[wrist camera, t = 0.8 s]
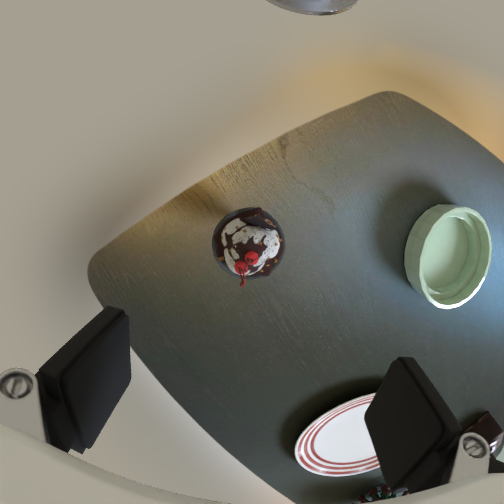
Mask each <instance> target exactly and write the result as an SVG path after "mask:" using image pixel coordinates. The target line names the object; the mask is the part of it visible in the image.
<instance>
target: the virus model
mask: <svg viewBox="0 0 504 504" xmlns="http://www.w3.org/2000/svg"><path fill="white" fill-rule="evenodd" d="M388 488H389V487H387V486H386V485H384V486H381V489H382V492H381V494H380V495H381V497H379V495H378V494H377V488H372V490H370V491H369V495H370V496H371V497H372V501H368V500H367V499H366V498H365V495H363V494H362V495H360V497H359V498H358V500H359V501H361V503H368V502H374V501H380V500H386V499H391V498H396V494H397V493H395V494H392V495H391V496H389V494H390V493H391V490H388ZM408 493H409V492H408V491H407V490H406V491H404V493H403V495H402V496H405V495H408ZM352 504H354V503H352ZM355 504H358V503H355Z"/></svg>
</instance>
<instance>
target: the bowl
mask: <svg viewBox="0 0 504 504" xmlns="http://www.w3.org/2000/svg"><path fill="white" fill-rule="evenodd" d="M491 251H492V244H491V237H490V232H489V229H488V227H487V225H486V222H485V220H484V219H483V218H482V217H481V216H480V214H479V213H478V212H477V211H474V210H472V209H470V208H468V207H464V206H458V205H453V204H438V205H436V206H434V207H432V208H430V209H428V210H426V211H425V212H424V213H423V214H422V215H421V216H420V217H419V218H418V219H417V220H416V222H415V224H414V226H413V228H412V229H411V231H410V233H409V236H408V240H407V243H406V247H405V259H404V266H405V270H406V274H407V278H408V280H409V282H410V284H411V285H412V287H413V288H414V290H415V291H417V292H418V293H419V294H421V295H422V296H423V297H424V298H426V299H427V300H428V301H429V302H431V303H432V304H433V305H435V306H436V307H438V308H444V309H451V308H455V307H459V306H461V305H462V304H464V303H465V302H467V301H468V300H470V299H471V298H472V297H473V295H474V294H475V293H476V292H477V291H478V290H479V288H480V286H481V285H482V283H483V281H484V279H485V277H486V275H487V272H488V268H489V265H490V261H491Z"/></svg>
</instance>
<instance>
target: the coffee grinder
mask: <svg viewBox="0 0 504 504" xmlns="http://www.w3.org/2000/svg"><path fill="white" fill-rule="evenodd" d="M465 433H476V434H478V435H480V436H482V437H483V438H484V439H485V440H486V442H487V443H488V445H489V448H490V457H491V458H493V459H496V458H495V457H494V455H493V453H494V452H495V450H496V448H497V447H498V446H500V445H501V442H502V437H503V430H502V429H501V428H500V426H499V425H498V423H497V422H496V421H495V420H494V418H493V417H492V416H491V415H490V413H489V412H487V413H486V414H484V415H483V416H482V417H481V418H479V419H478V420H477V421H476V422H474V423H473V424H472V425H471V426H470V427H468V428H467V429H466V430H465V431H464V432H462V433H461V434H460V437H461V436H462V435H463V434H465Z"/></svg>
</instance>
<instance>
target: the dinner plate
mask: <svg viewBox="0 0 504 504" xmlns="http://www.w3.org/2000/svg"><path fill="white" fill-rule="evenodd" d="M375 394H376V393H372V394H368V395H364V396H361V397H358V398H355V399H352V400H350V401H347V402H345V403H343V404H341V405H339V406H337V407H335V408H333V409H331V410H329V411H327V412H326V413H324V414H323V415H321V416H320V417H318V418H317V419H316V420H314V421H313V422H312V423H311V424H310V425H309V426H308V427H307V428H306V429H305V430H304V431H303V432H302V434H301V435H300V436H299V438H298V440H297V442H296V445H295V457H296V459H297V461H298V463H299V464H300V465H301V466H302V467H304V468H305V469H306V470H308V471H310V472H313V473H316V474H319V475H325V476H348V475H355V474H359V473H363V472H367V471H370V470H373V469H376V468H378V467H380V465H379V462H378V459H377V456H376V453H375V450H374V447H373V444H372V441H371V438H370V435H369V432H368V429H367V427H366V424H365V421H364V415H365V412H366V410H367V408H368V406H369V405H370V403H371V401H372V400H373V398H374V396H375Z"/></svg>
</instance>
